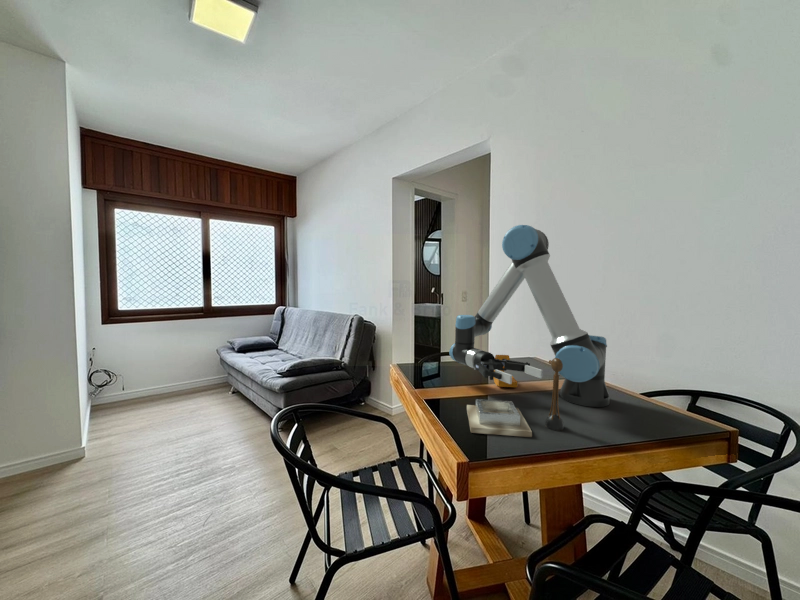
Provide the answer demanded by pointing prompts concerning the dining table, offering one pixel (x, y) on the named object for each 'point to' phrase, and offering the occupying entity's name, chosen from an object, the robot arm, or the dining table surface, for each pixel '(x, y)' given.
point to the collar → (497, 418)
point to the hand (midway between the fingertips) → (526, 376)
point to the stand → (497, 429)
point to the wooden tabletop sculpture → (555, 398)
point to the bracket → (499, 382)
